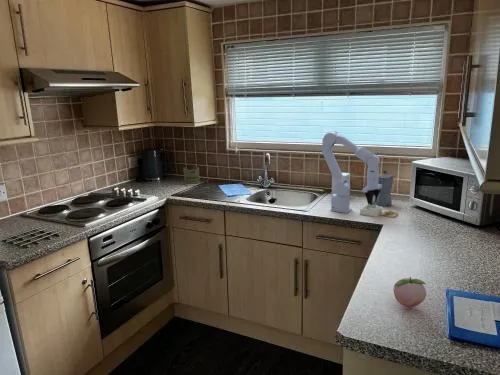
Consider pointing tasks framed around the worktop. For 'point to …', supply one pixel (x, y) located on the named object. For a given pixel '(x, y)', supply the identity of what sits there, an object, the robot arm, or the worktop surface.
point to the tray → (371, 211)
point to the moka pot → (385, 190)
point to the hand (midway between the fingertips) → (371, 203)
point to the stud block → (389, 214)
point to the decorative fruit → (409, 292)
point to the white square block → (347, 177)
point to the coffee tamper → (372, 203)
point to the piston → (191, 176)
